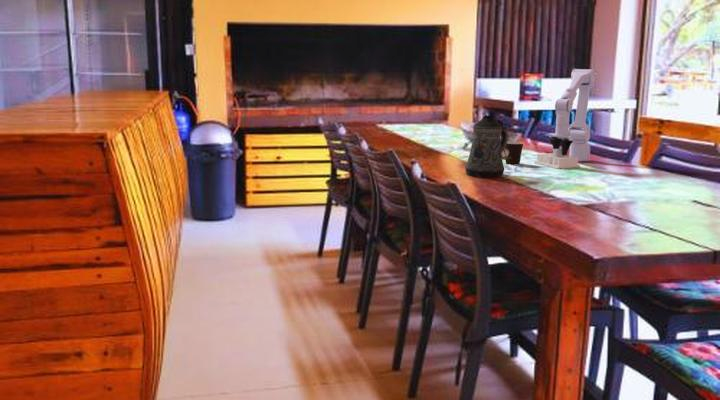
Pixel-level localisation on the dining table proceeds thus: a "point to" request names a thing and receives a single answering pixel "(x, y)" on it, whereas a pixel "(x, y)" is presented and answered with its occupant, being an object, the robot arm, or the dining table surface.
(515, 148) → the coffee mug
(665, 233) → the dining table surface
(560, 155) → the plate tile
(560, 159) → the dish rack
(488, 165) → the beer stein
